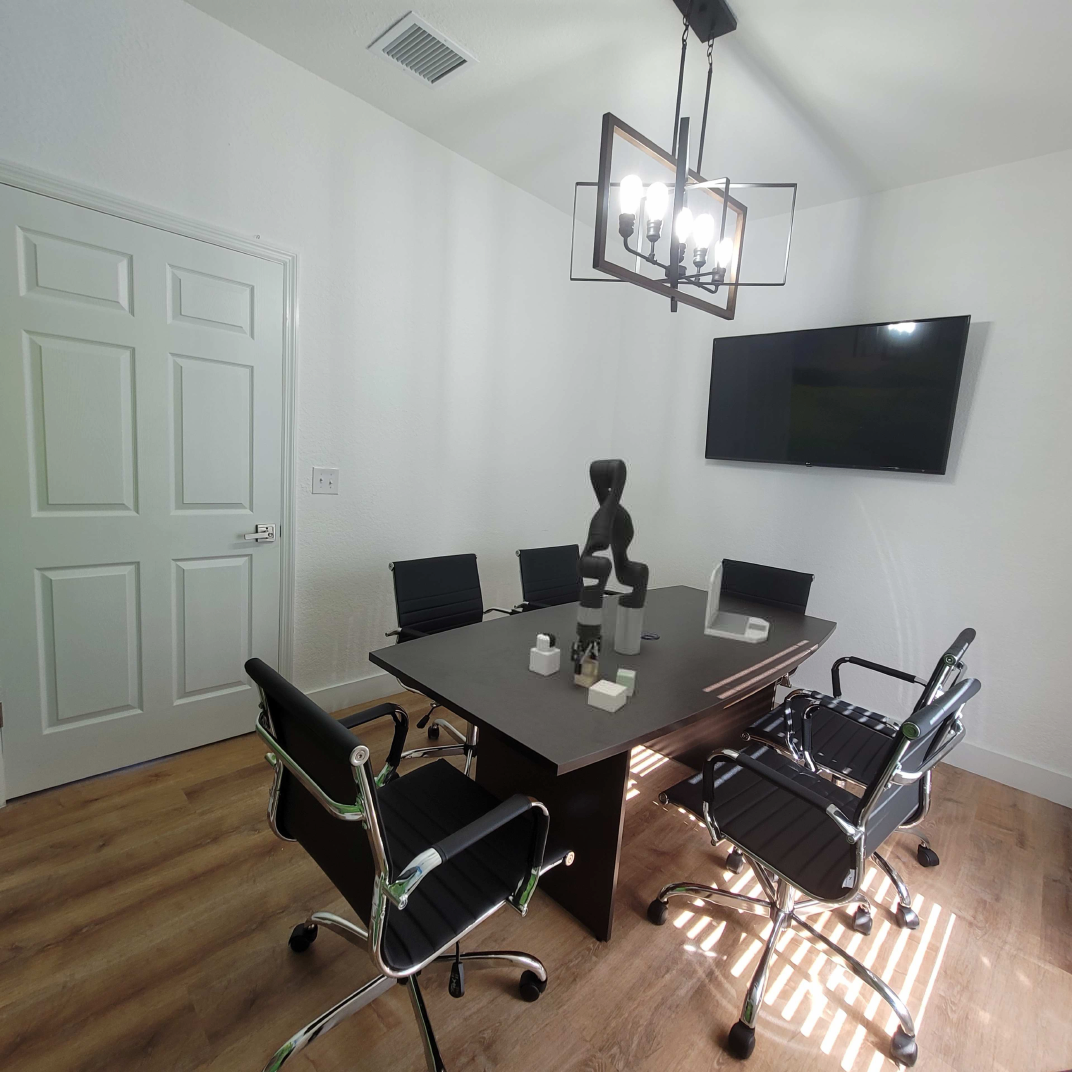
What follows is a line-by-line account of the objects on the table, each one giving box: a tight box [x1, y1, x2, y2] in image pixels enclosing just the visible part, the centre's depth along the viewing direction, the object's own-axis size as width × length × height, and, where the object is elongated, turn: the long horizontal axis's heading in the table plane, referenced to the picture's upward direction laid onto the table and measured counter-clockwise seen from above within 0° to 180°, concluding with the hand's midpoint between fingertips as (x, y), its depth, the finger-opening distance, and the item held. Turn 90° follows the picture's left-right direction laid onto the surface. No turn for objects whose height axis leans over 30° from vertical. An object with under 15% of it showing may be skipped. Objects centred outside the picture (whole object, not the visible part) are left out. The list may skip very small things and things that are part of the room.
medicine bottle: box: [528, 632, 561, 677], centre depth 176 cm, size 7×7×12 cm
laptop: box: [703, 562, 770, 644], centre depth 235 cm, size 33×24×26 cm
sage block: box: [615, 668, 636, 697], centre depth 164 cm, size 5×5×6 cm
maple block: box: [573, 657, 599, 689], centre depth 169 cm, size 5×5×7 cm
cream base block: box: [587, 679, 627, 713], centre depth 156 cm, size 8×8×5 cm
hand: (584, 670), depth 169 cm, fingers open, 8 cm apart
